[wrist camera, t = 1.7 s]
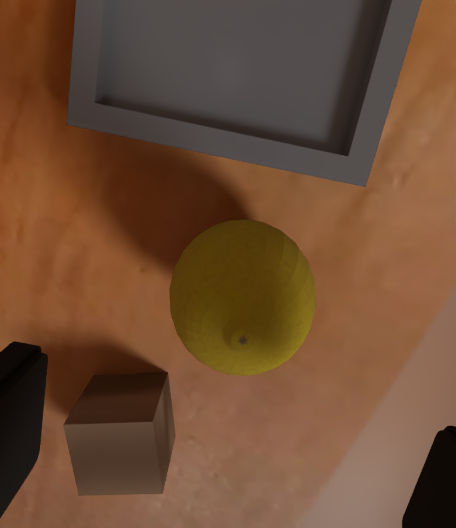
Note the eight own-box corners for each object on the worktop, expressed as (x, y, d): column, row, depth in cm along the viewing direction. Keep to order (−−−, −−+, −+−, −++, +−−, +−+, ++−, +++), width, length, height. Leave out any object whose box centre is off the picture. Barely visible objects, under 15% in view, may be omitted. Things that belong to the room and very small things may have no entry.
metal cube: (94, 374, 22) (63, 424, 18) (168, 371, 22) (152, 421, 18) (105, 436, 23) (78, 495, 20) (175, 434, 23) (162, 493, 19)
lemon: (293, 318, 21) (323, 426, 13) (182, 310, 21) (148, 412, 13) (306, 208, 19) (350, 258, 11) (186, 200, 19) (149, 244, 11)
